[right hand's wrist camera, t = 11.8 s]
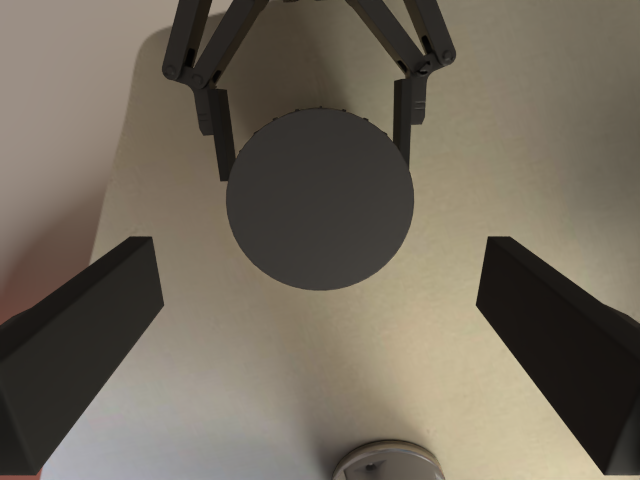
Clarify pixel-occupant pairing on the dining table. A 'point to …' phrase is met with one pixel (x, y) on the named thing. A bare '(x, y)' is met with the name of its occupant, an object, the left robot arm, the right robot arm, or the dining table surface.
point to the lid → (320, 199)
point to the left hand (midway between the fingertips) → (314, 174)
